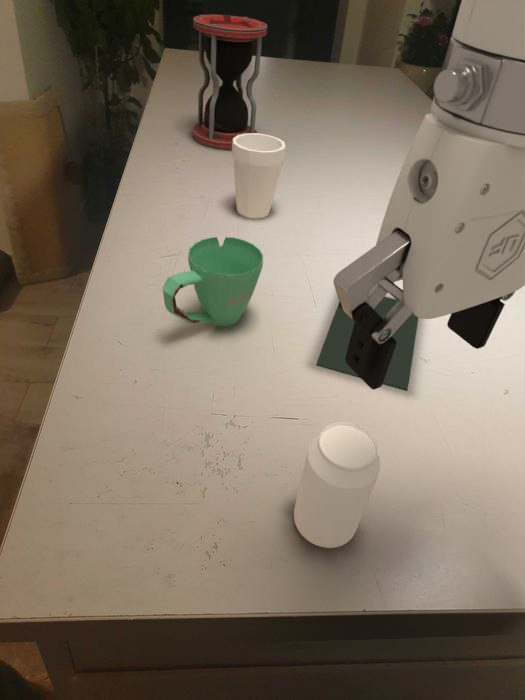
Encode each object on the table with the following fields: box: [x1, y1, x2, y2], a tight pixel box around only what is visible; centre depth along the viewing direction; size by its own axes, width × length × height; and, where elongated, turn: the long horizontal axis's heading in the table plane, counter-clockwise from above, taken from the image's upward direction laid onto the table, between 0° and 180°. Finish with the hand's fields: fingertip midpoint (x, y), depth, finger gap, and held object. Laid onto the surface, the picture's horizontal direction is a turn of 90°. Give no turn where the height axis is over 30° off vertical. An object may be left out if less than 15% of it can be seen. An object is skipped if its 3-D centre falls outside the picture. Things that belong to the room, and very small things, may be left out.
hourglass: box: [192, 13, 268, 150], centre depth 122 cm, size 16×16×25 cm
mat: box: [316, 296, 419, 391], centre depth 75 cm, size 20×12×1 cm, turn 162°
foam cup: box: [231, 132, 287, 219], centre depth 97 cm, size 10×9×13 cm
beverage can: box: [293, 421, 381, 549], centre depth 47 cm, size 6×6×12 cm
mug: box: [162, 236, 264, 327], centre depth 70 cm, size 15×10×10 cm
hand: (416, 354), depth 37 cm, fingers open, 9 cm apart
